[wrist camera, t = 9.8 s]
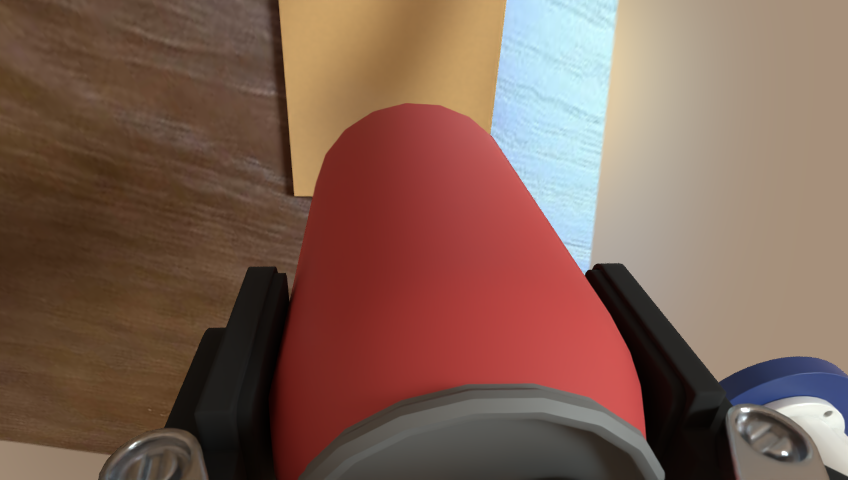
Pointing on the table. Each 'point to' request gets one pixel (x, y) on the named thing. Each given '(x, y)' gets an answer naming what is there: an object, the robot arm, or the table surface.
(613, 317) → the robot arm
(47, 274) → the table surface
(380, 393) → the beer can
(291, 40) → the cork mat
